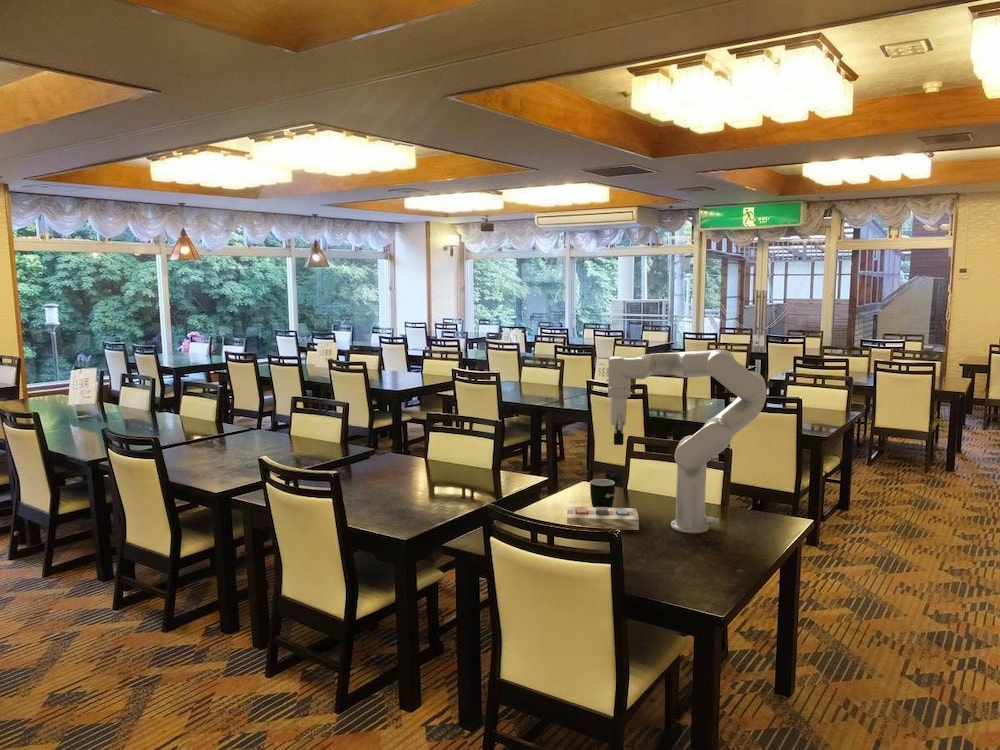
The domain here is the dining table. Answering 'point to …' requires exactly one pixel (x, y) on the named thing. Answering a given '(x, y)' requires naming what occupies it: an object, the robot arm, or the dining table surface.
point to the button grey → (602, 511)
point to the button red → (581, 511)
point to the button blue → (622, 512)
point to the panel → (604, 518)
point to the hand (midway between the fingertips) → (618, 444)
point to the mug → (602, 492)
